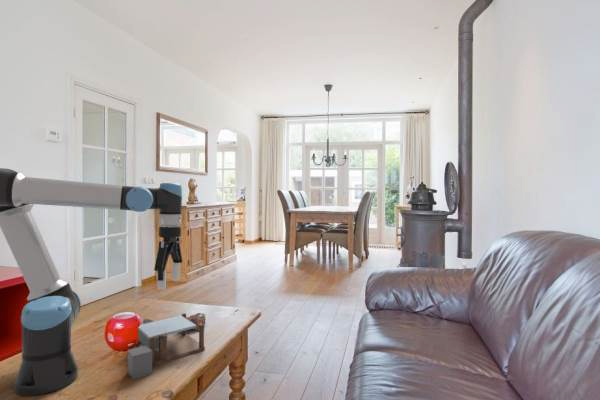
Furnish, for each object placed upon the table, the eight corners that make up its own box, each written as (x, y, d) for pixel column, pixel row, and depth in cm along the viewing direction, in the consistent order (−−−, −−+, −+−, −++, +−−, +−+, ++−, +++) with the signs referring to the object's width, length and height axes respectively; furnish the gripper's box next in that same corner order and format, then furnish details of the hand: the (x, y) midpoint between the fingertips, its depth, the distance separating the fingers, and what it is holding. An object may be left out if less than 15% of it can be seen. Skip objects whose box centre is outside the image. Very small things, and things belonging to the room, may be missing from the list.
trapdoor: (149, 350, 115) (149, 337, 115) (136, 338, 125) (136, 325, 125) (196, 337, 126) (196, 325, 126) (181, 327, 136) (181, 315, 135)
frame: (150, 368, 113) (150, 339, 113) (132, 348, 127) (132, 323, 127) (206, 350, 126) (206, 325, 125) (184, 335, 139) (184, 311, 139)
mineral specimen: (200, 330, 140) (191, 315, 140) (184, 339, 141) (175, 325, 141) (209, 319, 152) (201, 305, 152) (194, 328, 153) (186, 314, 153)
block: (133, 379, 106) (133, 356, 106) (127, 372, 110) (127, 350, 110) (152, 373, 110) (152, 350, 110) (146, 366, 114) (146, 345, 114)
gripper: (167, 229, 117) (165, 294, 117) (191, 223, 142) (189, 277, 142) (144, 228, 117) (143, 293, 117) (172, 223, 142) (171, 276, 142)
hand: (168, 284), depth 130 cm, fingers open, 13 cm apart
